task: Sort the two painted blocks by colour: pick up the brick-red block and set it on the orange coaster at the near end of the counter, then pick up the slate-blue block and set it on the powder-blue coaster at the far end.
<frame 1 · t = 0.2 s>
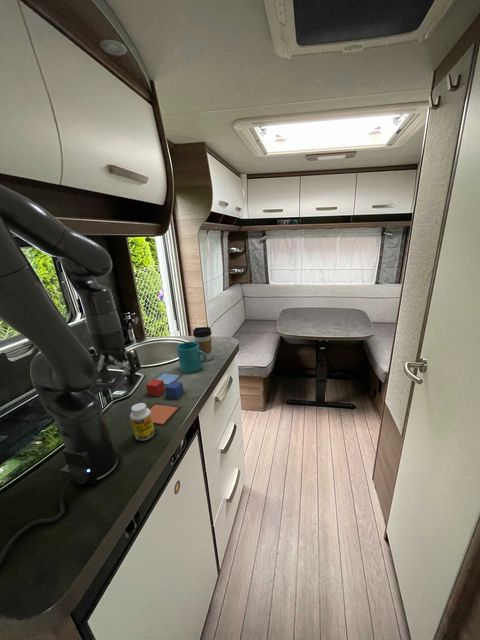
hand: (120, 383, 77), 17 cm above the worktop, tool pointing down, fingers open, 8 cm apart
cup: (194, 369, 123), on the worktop
supplement bottle: (145, 435, 83), on the worktop
red block: (156, 392, 105), on the worktop
blue coaster: (166, 379, 115), on the worktop
blue block: (175, 395, 103), on the worktop
coffee cup: (205, 359, 132), on the worktop
orange coaster: (159, 414, 92), on the worktop
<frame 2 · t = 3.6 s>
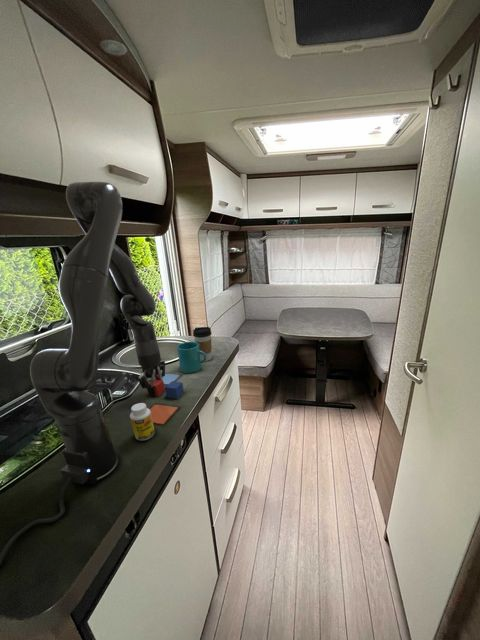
hand: (156, 391, 105), 0 cm above the worktop, tool pointing down, fingers closed on red block, 4 cm apart
red block: (156, 392, 105), on the worktop, touching gripper
everything else where it was.
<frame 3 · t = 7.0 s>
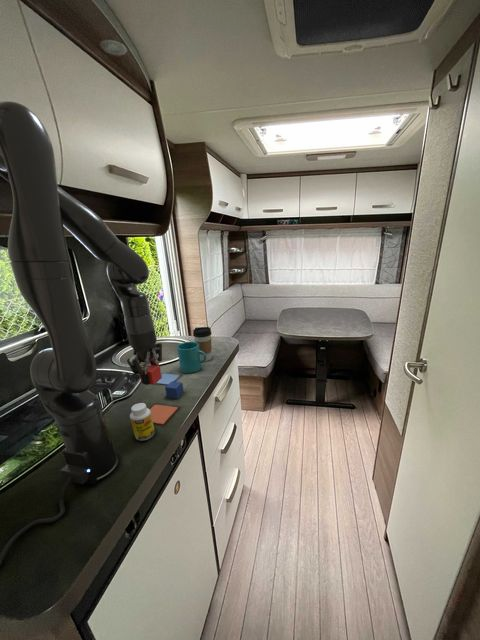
hand: (151, 379, 87), 13 cm above the worktop, tool pointing down, fingers closed on red block, 4 cm apart
red block: (151, 380, 88), point 13 cm above the worktop, touching gripper
everything else where it was.
when the fingers open (1 cm above the worktop, at t = 10.2 s): red block stays where it is, resting on orange coaster.
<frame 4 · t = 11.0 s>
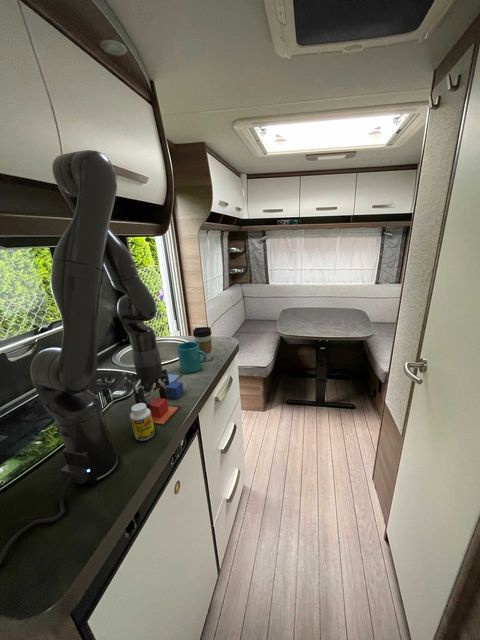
hand: (156, 406, 91), 4 cm above the worktop, tool pointing down, fingers open, 8 cm apart
red block: (159, 413, 92), resting on orange coaster
everything else where it was.
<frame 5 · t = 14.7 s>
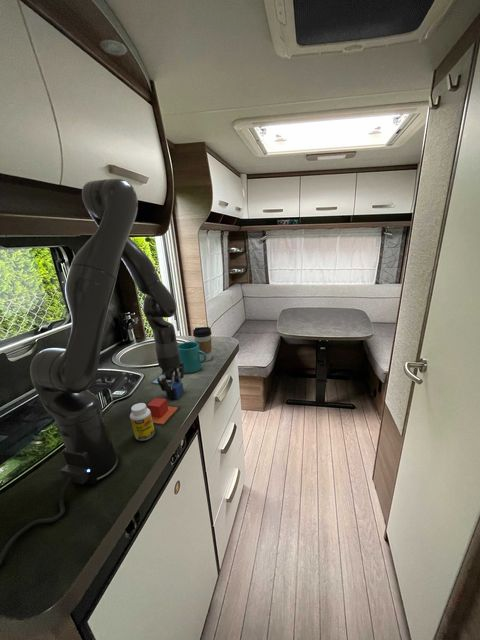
hand: (175, 394, 103), 0 cm above the worktop, tool pointing down, fingers closed on blue block, 4 cm apart
blue block: (175, 395, 103), on the worktop, touching gripper
everything else where it was.
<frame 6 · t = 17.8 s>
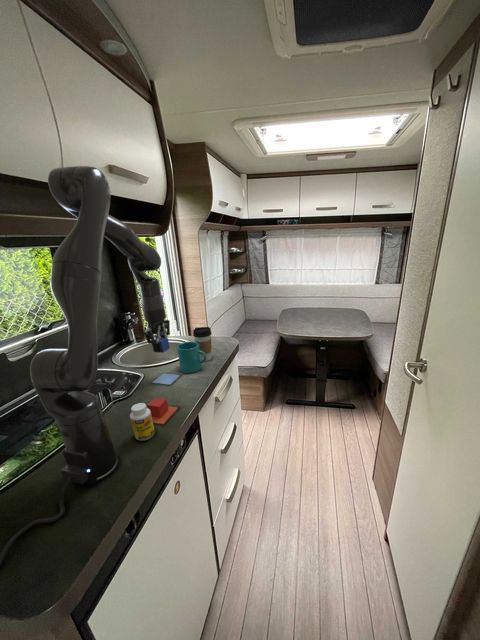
hand: (161, 349, 109), 14 cm above the worktop, tool pointing down, fingers closed on blue block, 4 cm apart
blue block: (161, 350, 109), point 13 cm above the worktop, touching gripper
everything else where it was.
when the fingers open (1 cm above the worktop, at t = 21.0 s): blue block stays where it is, resting on blue coaster.
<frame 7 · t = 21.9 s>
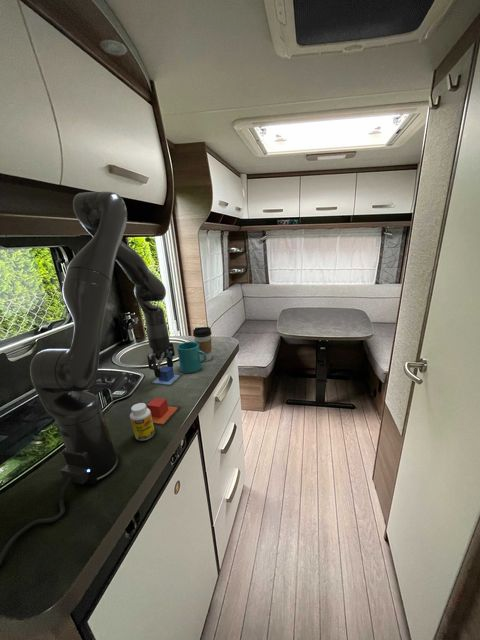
hand: (164, 372, 112), 4 cm above the worktop, tool pointing down, fingers open, 8 cm apart
blue block: (166, 378, 114), resting on blue coaster
everything else where it was.
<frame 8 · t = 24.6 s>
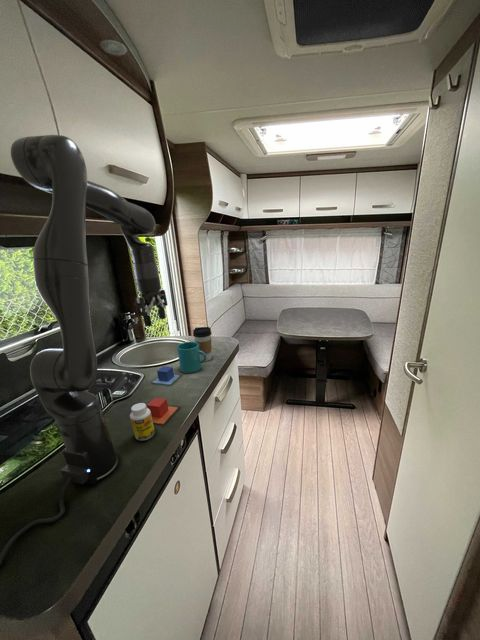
hand: (155, 322, 100), 26 cm above the worktop, tool pointing down, fingers open, 8 cm apart
nothing on the worktop moved.
at the end: red block inside the target area on the orange coaster (0.2 cm from its centre), point 0.4 cm above the orange coaster's base; blue block inside the target area on the blue coaster (0.1 cm from its centre), point 0.4 cm above the blue coaster's base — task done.
